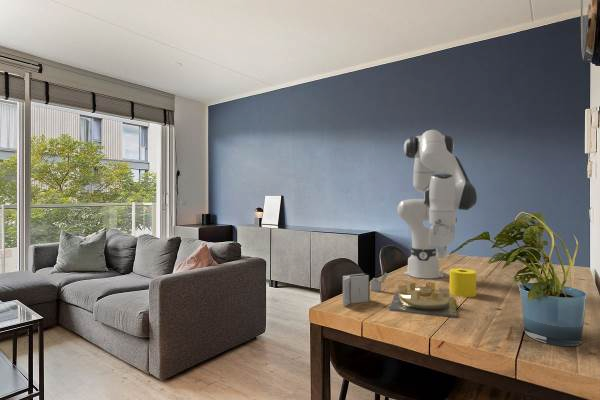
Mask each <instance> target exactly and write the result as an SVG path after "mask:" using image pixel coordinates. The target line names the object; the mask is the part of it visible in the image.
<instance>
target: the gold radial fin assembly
mask: <svg viewBox="0 0 600 400" xmlns="http://www.w3.org/2000/svg"><path fill="white" fill-rule="evenodd" d="M397 292H398V301H399V302H400V303H401V304H403V305H406V306H409V307H413V308H418V309H427V310H436V309H444V308H447V307H448V306H449V297H450V287H448V286H447V287H446V286H439V287H438V289H436V283H435V282H432V281H431V282H430V281H428V282H426V283H425V286H423V285H419V286H416V282H414V281H412V280H409V281H405V285H404V284H403V285H401V284H399V285H397Z"/></svg>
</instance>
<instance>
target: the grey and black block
mask: <svg viewBox="0 0 600 400" xmlns="http://www.w3.org/2000/svg"><path fill="white" fill-rule="evenodd" d="M370 291H371V279H370V274H368V273H358V274H357V273H356V274H348V275H343V276H342V307H344V308H345V307H347V306H348V305H350V304H355V303H356V304H357V303H363V302H369V301H370V298H371V297H370V295H371V294H370V293H371V292H370Z"/></svg>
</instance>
